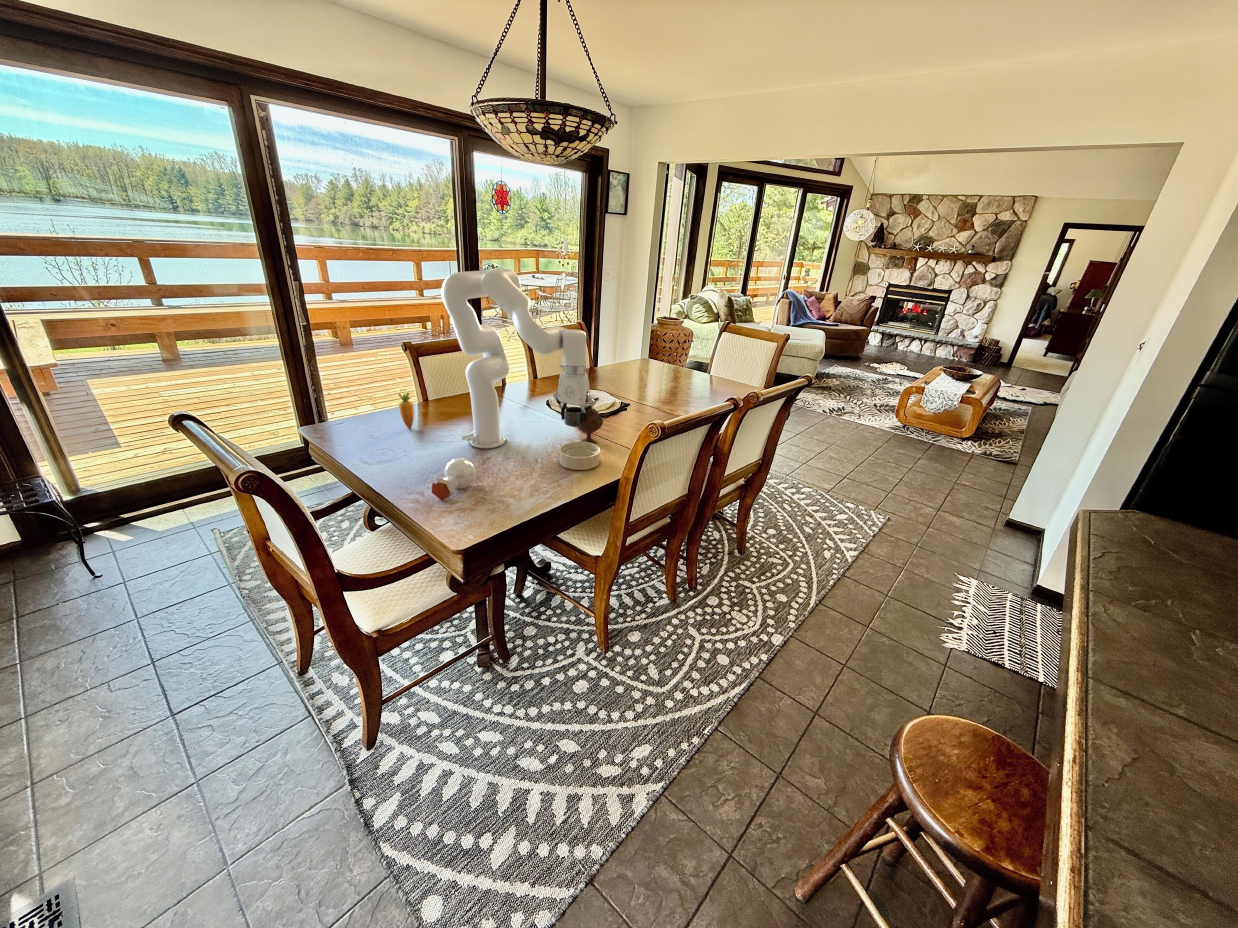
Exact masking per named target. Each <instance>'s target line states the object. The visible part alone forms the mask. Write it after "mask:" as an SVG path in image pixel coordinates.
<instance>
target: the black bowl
mask: <svg viewBox="0 0 1238 928" xmlns="http://www.w3.org/2000/svg"><path fill="white" fill-rule="evenodd" d="M581 413H582V409H581V407H580V406H568V408H565V409H564V420H563V422H564V425H566V426H568V427H572V428H577V427H578V426H581V425H583V424H581Z"/></svg>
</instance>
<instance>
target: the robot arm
mask: <svg viewBox="0 0 1238 928" xmlns="http://www.w3.org/2000/svg"><path fill="white" fill-rule="evenodd" d="M521 285H522V284H521V279H520V277H519V275H518V274H517V272H516V271H514V270H512V269H509V268H498V269H497V268H496V269H491V270H471V271H469V270H468V271H457V272H454V273H451V274H450V275H448V276H446V278H445V279H444V280H443V283H442V286H441V291H440V292H441V299H442V302H443V305H444V306H445V309H446V312H447V313H448V315H449V317H450V321H451V323H452V326H453V329H454V333H455V336H456V338H457V341H458V345H459V347H460V349H461V351H462V352H463V353H464V355H466V356H469V357H474V356H479V355H481V354H482V357H480V358H476V359H474V360H472V361H471V362H469V363H468V365H467V366H466V369H465V378H466V382H467V385H468V390H469V395H470V404H471V415H472V429H473V430H472V429H471V432H469V433H468V434H460V439H461V441H466V442H469V443H470V445H471V446H473V447H474V448H478V449H494V448H498V447H500V446H502V445H504V444H505V442H506V439H505V436H503V435H502V434H501V424H500V423H501V422H500V412H499V411H500V409H499V396H498V393H497V390H496V388H495V386H494V384H495V383H497V382H499V381H501V380H503V379H505V378H506V377H507V376H508V374H509V373H510V364H509V360H508V357H507V354H506V350H505V348H504V344H503V341H502V338H501V336H500V333H499V332H498V330H497V329H496V328H495V327H493V326H492V325H490V324H485V323H484V324H480V322H479V320H478V317H477V313H476V311H475V309H474V308H473V306H472V305H471V304H470V303H469V302H468V300H470V299H478V298H485V297H488V298H490V299H491V300H492V301H493V302H495V304H497V305H498V307H500V308H501V309H502V310H503V311H504V312H505V313H506V314H507V315H508V316H509V317H510V318H511V319H512V322H513V326H514V328H515V330H516V332H517V334H518V336H519V337H520V338H521V339H522V341H523V342H525V344H527V345H528V347H530V348H531V349H532V350H533V351H535V352H536V353H537V354H539V355H549V354H552V353H555V352H558V351H562V363H560V364H559V368H561V369H562V371H561V372H560V373H559V378H558V385H557V386H558V387H557V391H556V392H555V393H553V395H552V397H553V398H554V399H555V401H556V403H557V405H558V407H559V409H560V417H561V420H562V421H564V409H565V408H568V407H569V406H567V405H572V406H576V407H580V408H581V409H582V413H581V424H584V423H586V422H587V420H588V411H589V410H590V409H591V408H594V406H596V404H597V401H596V400H595V399H594V398H593V396H592V395H591V391H590V390H591V389H590V380H589V375H588V373H587V334H586V332H585V331H584V330H581V329H570V328H566V327H563V326H557V325H555V326H551V327H546V328H543V327H542V326H541V325H540V324H538V323H537V321H535V319H534V318H533V317H532V316H531V313H530V309H531V306H532V299H531V298H530V297H528V296H527V295H526V293H524V292H523V291H522V290H521ZM588 403H589V404H588Z"/></svg>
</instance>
